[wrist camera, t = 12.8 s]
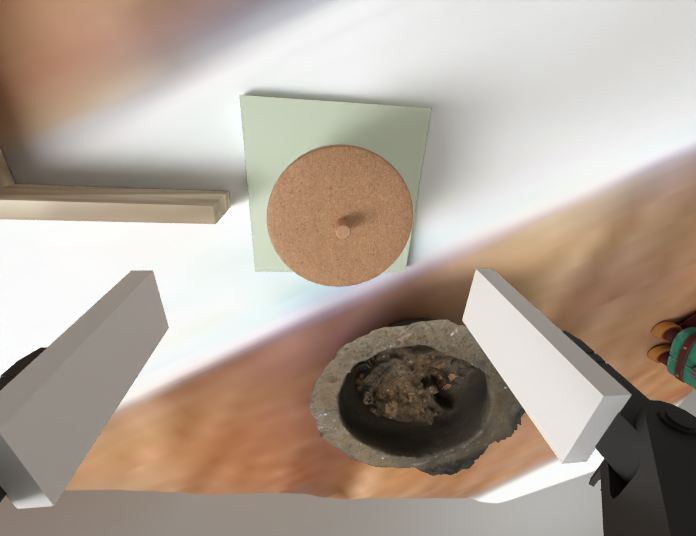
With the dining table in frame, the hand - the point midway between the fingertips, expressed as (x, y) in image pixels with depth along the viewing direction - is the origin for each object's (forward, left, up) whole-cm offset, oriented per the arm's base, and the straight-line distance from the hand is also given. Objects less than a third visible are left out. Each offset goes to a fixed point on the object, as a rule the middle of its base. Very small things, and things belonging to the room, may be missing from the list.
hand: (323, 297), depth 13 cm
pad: (0, +2, -19) cm, 19 cm away
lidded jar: (0, +2, -18) cm, 18 cm away
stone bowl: (+23, +12, -19) cm, 32 cm away
